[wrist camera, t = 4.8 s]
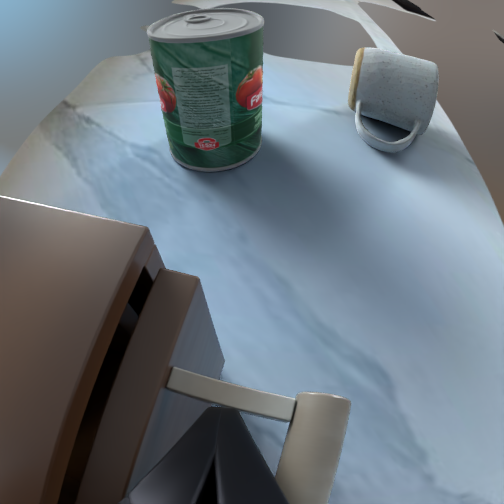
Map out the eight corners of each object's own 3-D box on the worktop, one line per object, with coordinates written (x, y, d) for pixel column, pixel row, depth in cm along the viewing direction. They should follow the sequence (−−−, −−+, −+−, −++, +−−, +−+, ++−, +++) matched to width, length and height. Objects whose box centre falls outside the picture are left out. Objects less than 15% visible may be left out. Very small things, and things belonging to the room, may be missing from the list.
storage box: (202, 346, 17) (149, 225, 8) (143, 534, 11) (26, 602, 2) (28, 284, 19) (-60, 182, 10) (-27, 425, 13) (-146, 376, 4)
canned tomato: (279, 153, 26) (287, 26, 16) (187, 185, 24) (162, 48, 14) (237, 108, 30) (234, 3, 20) (159, 132, 28) (137, 23, 18)
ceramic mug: (350, 91, 32) (360, 31, 26) (418, 112, 31) (436, 55, 24) (336, 142, 27) (351, 66, 20) (422, 169, 25) (452, 99, 19)
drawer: (312, 380, 15) (370, 313, 8) (260, 564, 10) (268, 660, 2) (42, 295, 18) (-40, 208, 10) (-12, 436, 12) (-120, 400, 5)
